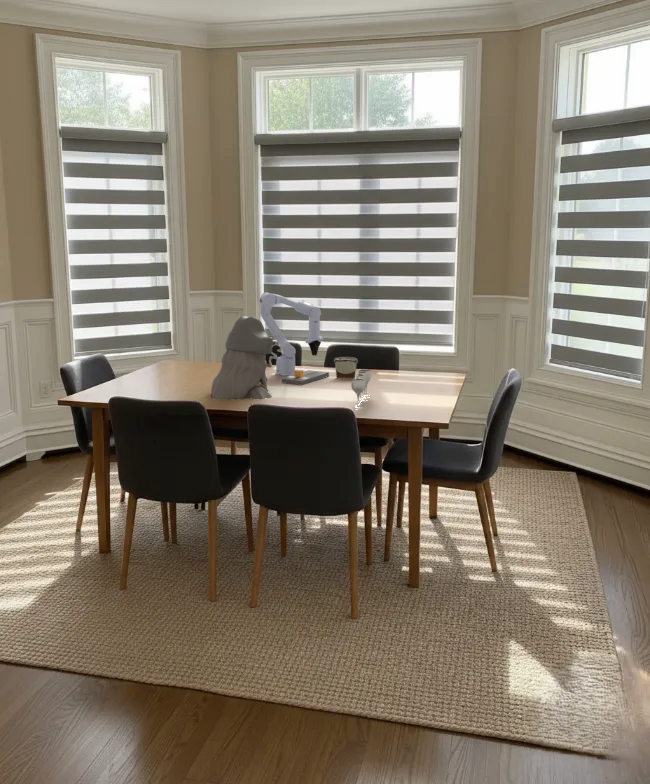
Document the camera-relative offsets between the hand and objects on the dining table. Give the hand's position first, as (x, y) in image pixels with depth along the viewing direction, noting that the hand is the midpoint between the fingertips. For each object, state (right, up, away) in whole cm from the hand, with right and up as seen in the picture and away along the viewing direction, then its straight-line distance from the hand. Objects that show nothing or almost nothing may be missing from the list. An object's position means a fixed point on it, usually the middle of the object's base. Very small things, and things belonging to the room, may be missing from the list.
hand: (314, 355), depth 384 cm
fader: (-7, -12, -21) cm, 25 cm away
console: (-4, -13, -15) cm, 20 cm away
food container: (+16, -12, -9) cm, 22 cm away
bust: (-32, -20, -46) cm, 59 cm away
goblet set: (+22, -24, -65) cm, 73 cm away
